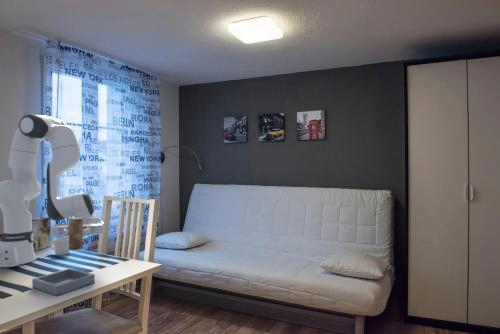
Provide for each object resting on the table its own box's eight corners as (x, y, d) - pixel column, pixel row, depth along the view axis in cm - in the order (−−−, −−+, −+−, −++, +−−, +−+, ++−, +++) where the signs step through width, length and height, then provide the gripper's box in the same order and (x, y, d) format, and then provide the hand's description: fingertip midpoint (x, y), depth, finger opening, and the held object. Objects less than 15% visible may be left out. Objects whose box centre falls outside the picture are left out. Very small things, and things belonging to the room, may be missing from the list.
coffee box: (41, 245, 194) (41, 216, 194) (51, 246, 193) (50, 217, 192) (27, 249, 185) (27, 219, 185) (37, 250, 184) (37, 220, 183)
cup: (44, 255, 174) (44, 239, 174) (55, 251, 182) (55, 236, 182) (64, 256, 173) (64, 240, 173) (74, 252, 181) (74, 237, 181)
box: (56, 296, 125) (56, 286, 125) (32, 288, 132) (32, 278, 132) (94, 283, 138) (94, 274, 138) (70, 276, 146) (70, 267, 146)
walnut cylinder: (67, 250, 136) (67, 220, 136) (70, 247, 141) (70, 217, 141) (81, 249, 138) (81, 219, 137) (83, 246, 143) (83, 217, 142)
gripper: (53, 219, 148) (45, 226, 135) (105, 217, 155) (102, 223, 141) (53, 234, 148) (45, 242, 135) (105, 231, 155) (102, 239, 142)
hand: (75, 232), depth 138 cm, fingers closed on walnut cylinder, 5 cm apart
